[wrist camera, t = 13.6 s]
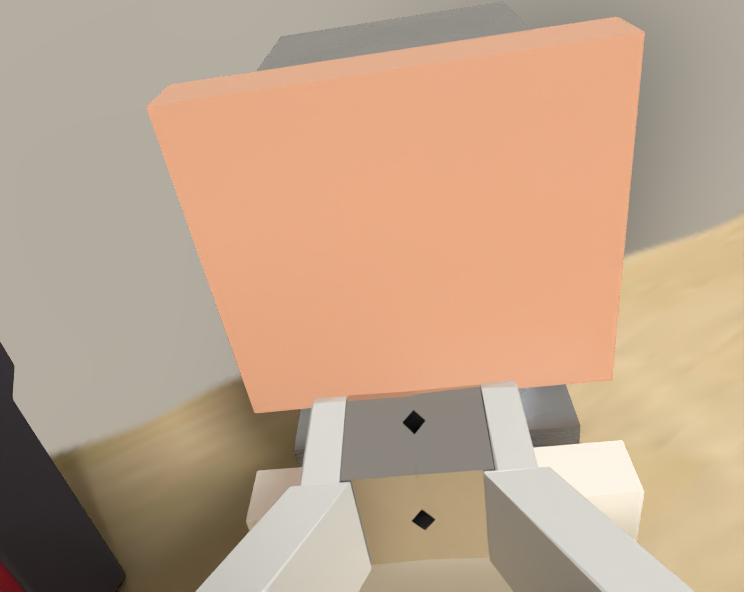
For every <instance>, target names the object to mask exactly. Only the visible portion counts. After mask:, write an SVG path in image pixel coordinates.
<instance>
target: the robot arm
mask: <svg viewBox="0 0 744 592" xmlns="http://www.w3.org/2000/svg"><path fill="white" fill-rule="evenodd" d="M464 558H490V561H491V563H492V564H493V565H494V567H495V568H496V569H497V571H498V572H499V573H500V574H501V576H502V577H503V578H504V580H505V581H506V582H507V584H508V585H509V586H510V588H511V589H512V590H513V591H514V592H695V591H693V590H692V589H691V588H690V587H689V586H688V585H686V584H685V583H684V582H683V581H682V580H681V579H679V578H678V577H677V576H676V575H675V574H674V573H672V572H671V571H670V570H669V569H668V568H667V567H665V566H664V565H663V564H662V563H661V562H660V561H658V560H657V559H656V558H655V557H654V556H653V555H651V554H650V553H649V552H648V551H647V550H646V549H645V548H643V547H642V546H641V545H640V544H639V543H638V542H636V541H635V540H634V539H633V538H632V537H631V536H629V535H628V534H627V533H626V532H625V531H624V530H622V529H621V528H620V527H619V526H618V525H617V524H615V523H614V522H613V521H612V520H611V519H610V518H608V517H607V516H606V515H605V514H604V513H603V512H601V511H600V510H599V509H598V508H597V507H596V506H594V505H593V504H592V503H591V502H590V501H589V500H587V499H586V498H585V497H584V496H583V495H582V494H580V493H579V492H578V491H577V490H576V489H575V488H573V487H572V486H571V485H570V484H569V483H568V482H566V481H565V480H564V479H563V478H562V477H561V476H559V475H558V474H557V473H556V472H555V471H554V470H553V469H551V468H550V467H538V464H537V460H536V456H535V452H534V448H533V445H532V441H531V437H530V433H529V429H528V425H527V421H526V417H525V414H524V410H523V406H522V402H521V398H520V394H519V390H518V386H517V384H516V383H515V382H514V381H513V380H512V381H502V382H493V383H484V384H480V386H479V385H468V386H458V387H447V388H437V389H427V390H417V391H408V392H393V393H378V394H363V395H349V396H346V397H329V398H316V399H315V400H314V402H313V404H312V406H311V413H310V419H309V426H308V432H307V439H306V445H305V452H304V458H303V465H302V471H301V478H300V484H299V486H291V487H288V489H287V490H286V491H285V492H284V493H283V494H282V495H281V496H280V498H279V499H278V500H277V501H276V502H275V503H274V504H273V505H272V506H271V508H270V509H269V510H268V511H267V512H266V513H265V514H264V515H263V517H262V518H261V519H260V520H259V521H258V522H257V523H256V524H255V525H254V527H253V528H252V529H251V530H250V531H249V532H248V533H247V534H246V536H245V537H244V538H243V539H242V540H241V541H240V542H239V543H238V544H237V546H236V547H235V548H234V549H233V550H232V551H231V552H230V553H229V555H228V556H227V557H226V558H225V559H224V560H223V561H222V562H221V563H220V565H219V566H218V567H217V568H216V569H215V570H214V571H213V572H212V574H211V575H210V576H209V577H208V578H207V579H206V580H205V581H204V582H203V584H202V585H201V586H200V587H199V588H198V589H197V590H196V591H195V592H359V590H360V588H361V586H362V585H363V583H364V581H365V580H366V578H367V576H368V574H369V573H370V571H371V569H372V568H371V565H376V564H387V563H398V562H409V561H420V560H435V559H464Z"/></svg>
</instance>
